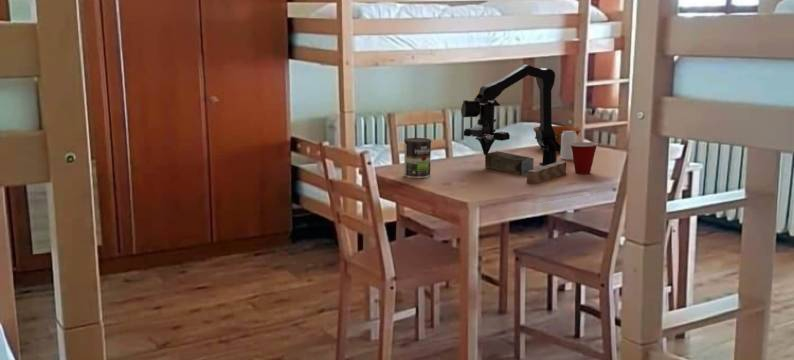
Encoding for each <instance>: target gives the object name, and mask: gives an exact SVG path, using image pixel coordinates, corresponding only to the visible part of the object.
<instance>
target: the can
mask: <svg viewBox="0 0 794 360" xmlns="http://www.w3.org/2000/svg"><path fill="white" fill-rule="evenodd" d="M577 140H578V135H577V134H576V131H572V130H565V131H563V133H562V137H561V150H560V159H561V160H563V159H564V160H563V161H574V160H573V152H572V148H571V146H570V144H571V143H578V141H577Z"/></svg>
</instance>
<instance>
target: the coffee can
mask: <svg viewBox="0 0 794 360" xmlns="http://www.w3.org/2000/svg"><path fill="white" fill-rule="evenodd" d="M431 147H432V139H430V138H424V137H409V138H405V139H404V164H403V165H404V170H403V171H404V173H403V174H404V177H405V178H409V179H427V178H430V177H431V150H432V148H431Z"/></svg>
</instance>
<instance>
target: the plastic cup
mask: <svg viewBox="0 0 794 360" xmlns="http://www.w3.org/2000/svg"><path fill="white" fill-rule="evenodd" d="M598 145H599V144H598V142H591V141H588V142H587V141H583V142H581V141H580V142H577V143H571V144H570V146H571V148H572V152H573V160H572V161H573V165H574V166H573V167H574V172H575V174H577V175H590V174H591V171H592V167H593V164H594V158H595V155H596V149H597V146H598Z"/></svg>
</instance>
